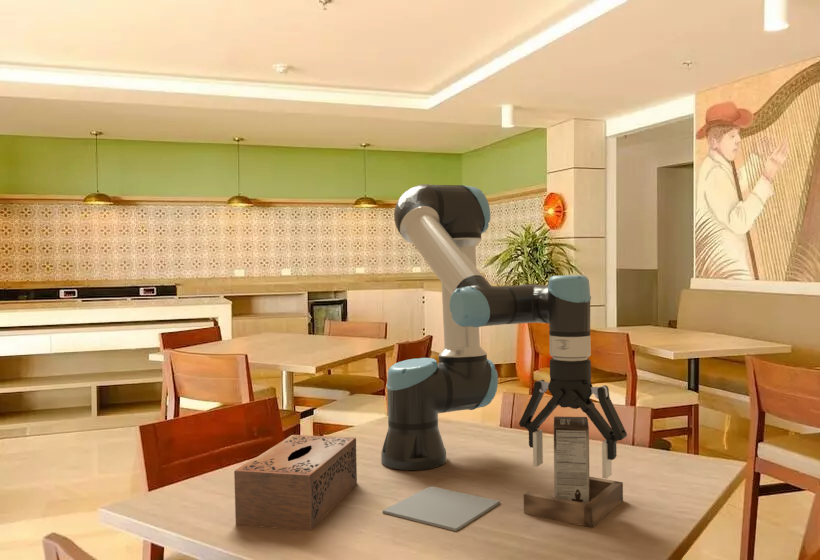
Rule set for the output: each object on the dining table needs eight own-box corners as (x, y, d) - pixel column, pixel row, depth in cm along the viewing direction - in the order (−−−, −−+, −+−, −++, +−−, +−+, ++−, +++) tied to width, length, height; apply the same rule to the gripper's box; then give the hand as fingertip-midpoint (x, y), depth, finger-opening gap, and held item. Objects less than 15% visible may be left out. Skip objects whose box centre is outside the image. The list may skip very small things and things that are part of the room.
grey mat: (382, 512, 127) (382, 510, 127) (430, 488, 140) (430, 486, 140) (456, 531, 118) (456, 528, 118) (500, 503, 131) (500, 500, 131)
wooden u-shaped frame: (524, 512, 126) (523, 494, 126) (559, 488, 139) (558, 471, 139) (592, 527, 118) (592, 507, 118) (622, 500, 131) (622, 482, 131)
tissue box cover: (311, 532, 120) (309, 475, 119) (235, 526, 123) (234, 470, 123) (356, 484, 145) (355, 437, 144) (293, 480, 148) (292, 434, 148)
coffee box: (554, 496, 134) (553, 415, 134) (588, 498, 133) (587, 416, 132) (554, 514, 125) (553, 426, 125) (591, 516, 124) (590, 427, 123)
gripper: (501, 355, 132) (502, 465, 133) (630, 365, 118) (631, 487, 118) (518, 351, 138) (520, 455, 139) (643, 359, 124) (644, 476, 124)
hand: (571, 470), depth 129 cm, fingers open, 13 cm apart
